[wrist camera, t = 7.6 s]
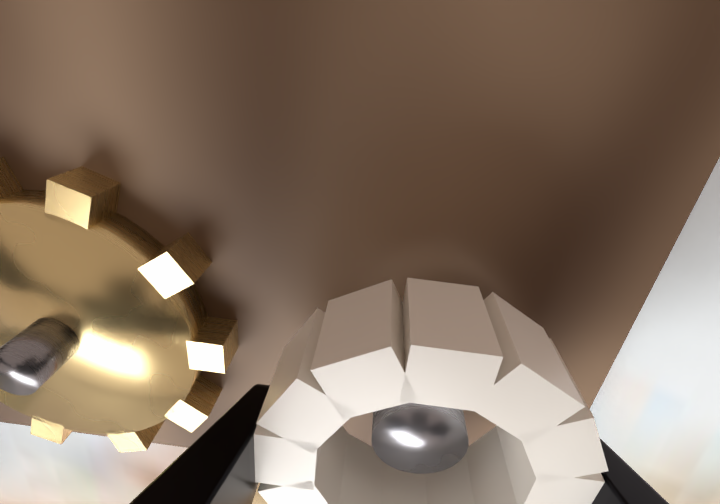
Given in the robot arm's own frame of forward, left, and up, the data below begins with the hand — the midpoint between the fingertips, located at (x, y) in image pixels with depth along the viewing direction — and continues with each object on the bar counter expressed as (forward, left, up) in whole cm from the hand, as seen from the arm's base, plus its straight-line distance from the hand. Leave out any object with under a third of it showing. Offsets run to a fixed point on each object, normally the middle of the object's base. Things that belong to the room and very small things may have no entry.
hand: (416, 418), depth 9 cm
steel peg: (0, 0, -2) cm, 2 cm away
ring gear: (0, 0, 0) cm, 0 cm away
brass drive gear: (-9, 0, -2) cm, 9 cm away
